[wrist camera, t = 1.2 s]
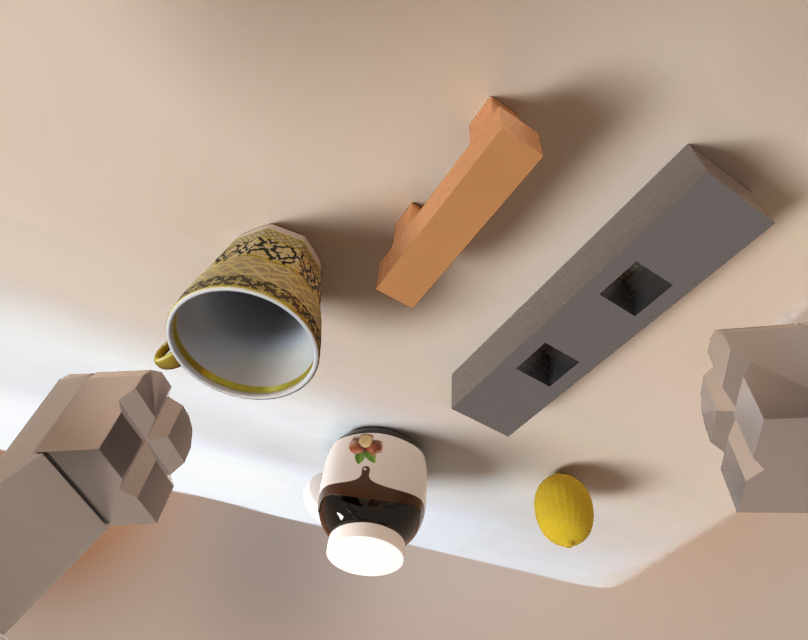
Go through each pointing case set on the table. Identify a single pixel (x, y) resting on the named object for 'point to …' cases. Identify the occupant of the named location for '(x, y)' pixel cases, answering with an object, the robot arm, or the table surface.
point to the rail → (610, 290)
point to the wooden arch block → (459, 203)
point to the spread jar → (369, 499)
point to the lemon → (564, 510)
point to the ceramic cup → (251, 318)
